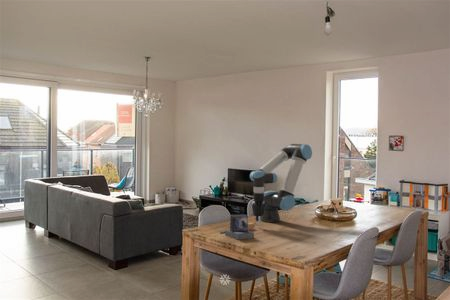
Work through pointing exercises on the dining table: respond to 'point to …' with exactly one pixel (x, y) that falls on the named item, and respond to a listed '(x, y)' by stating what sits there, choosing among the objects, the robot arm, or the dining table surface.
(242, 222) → the small box
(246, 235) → the tray
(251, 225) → the bar
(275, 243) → the dining table surface
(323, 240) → the dining table surface
